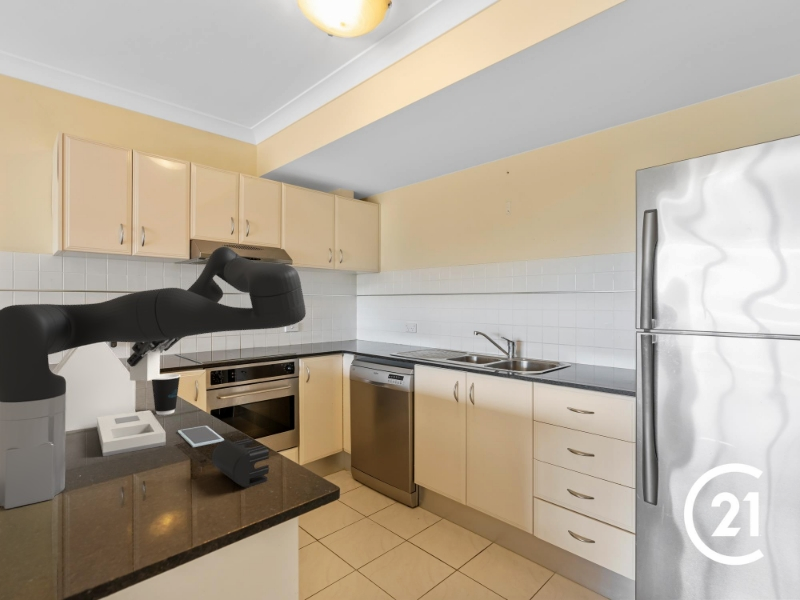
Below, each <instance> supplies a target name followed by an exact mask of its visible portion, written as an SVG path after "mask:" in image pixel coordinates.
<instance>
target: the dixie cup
mask: <svg viewBox="0 0 800 600" xmlns="http://www.w3.org/2000/svg"><path fill="white" fill-rule="evenodd" d="M181 377H182V376H181V374H180V373H162V374H161V373H160V378H156V379H153V380H151V386H152V395H153V403H154V411H156V412H155V413H156V415H159V416H161V415H162V416H163V415H164V416H165V415H172V414H174V413H175V410H176V408H177V401H178V394H179V386H180V385H179V384H180V378H181Z"/></svg>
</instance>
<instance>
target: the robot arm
mask: <svg viewBox="0 0 800 600" xmlns="http://www.w3.org/2000/svg"><path fill="white" fill-rule="evenodd" d="M215 276H217V277H218V278H220V279H221V280H223V281H224V282H225V283H227V284H228V285H230V286H231V287H233V288H234V289H235V290H237V291H239V292H241V293H246V294H248V295H249V298H250V303H251V307H235V306H230V305H226V304H222V303H219V302H220V301H221V299H222V298H223V296H224V292H223V289H222V288H221V286H219V284H218V283H217V282H216V280H215V279H214V277H215ZM306 313H307V312H306V305H305V300H304V294H303V289H302V284H301V279H300V276H299V273H298V270H297V269H296V268H295V267H293V266H291V265H289V264H285V263H278V262H276V263H275V262H260V261H259V262H258V261H256V262H255V261H252V260H250V259H249V258H245V257H242V256H241V255H239V254H238V253H237V252H236V251H234V250H233V249H232V248H230V247H228V246H221V247H218V248H215V250H214V251H212V253H211V254H210V256H209V258H208V260H207V262H206V264H205V266H204V268H203V270H202V271H201V273H200V275H199V277H197V279H196V280H195V281H194V282H193V283H192V284H191V285H190V286H189V287H188V289H187V290H186V289H185V288H179V287H166V288H158V289H157V288H156V289H147V290H141V291H136V292H132V293H128V294H125V295H121V296H118V297H115V298H112V299H109V300H106V301H102V302H97V303H96V302H95V303H83V304H81V303H80V304H53V303H52V304H50V303H34V304H33V303H32V304H29V303H28V304H27V303H26V304H25V303H24V304H13V305H9V306H5V307H3V308H1V309H0V507H3V509H4V510H8V509H13V508H17V507H21V506H26V505H31V504H35V503H40V502H43V501H49V500H53V499H54V498H55V496H57V495H58V494H60V493H61V492H63V491H64V490H65V488H66V432H67V431H66V380H65V378H64V377H62V376H60V375H56V374H54V373H52V371H51V369H50V362H49V355H53V354H57V353H61V352H64V351H67V350H68V351H69V350H70V349H72V348H76V347H80V346H85V345H90V344H94V343H100V342H105V343H107V342H109V343H110V342H112V343H113V342H116V343H118V342H119V343H130V342H136V343H135V344H134V346H133V347H132V349H133V351H134V353H133V354H132V355H131V356H130V355H129V357H128V358H127V360H126V363H127V364H128V365H129V367H130V366H131V367H133V366H136V365H137V364H138V363H139V361H140V360H141V359H142V358H143V357H144V356H146V355H147V354H148V353H149V352H150V351H155V350H156V349H157V348H159V347H160V354H161V353H163V352H167V351H168V350H169V349H171V347H173V346H174V345H175V344H177V343H178V342H179V341H180V340H182V338H185V337H190V336H198V335H199V336H200V335H205V334H211V333H221V332H236V331H238V332H239V331H249V330H250V331H252V330H254V331H255V330H269V329H270V330H271V329H278V328H285V327H290V326H294V325H296V324H297V323H300V322H301V321H303V320H304V319H305V317H306V316H307V315H306ZM151 344H153V345H154V347H153V346H152V345H151ZM147 348H148V349H147ZM146 349H147V350H146ZM145 350H146V351H145Z"/></svg>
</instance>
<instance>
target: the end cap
mask: <svg viewBox="0 0 800 600" xmlns="http://www.w3.org/2000/svg"><path fill="white" fill-rule="evenodd" d="M250 445H255V441H254V440H253V439H250V438H245V439H241V440H237V441H232V440H230V439H229V438H226V439H224V441H221V442H218V443H217V445H216V446H215V448H213V449H214V450H213V451H212V455H211V463H212V465H213V467H215V468H216V469H217V470H218V471H220V472H221V473H222V474H224V475H225V476H227V478H229V479H231V481H233V482H234V483H236V484H238V485H239V486H240V487H243V488H246V489H247V488H251V487H254V486H257V485H260V484H264V483H266V482H268V476H266V475H268V474H269V473H270V471H269V469H270V467H269V466H270V465H269V464H266V465H263V466H260V467H256V463H259V462H262V461H265V460H269V459H270V452H269V449H268V448H267V447H265V446H263V445H258V446H253V447H249V446H250ZM255 467H256V468H255Z"/></svg>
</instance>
